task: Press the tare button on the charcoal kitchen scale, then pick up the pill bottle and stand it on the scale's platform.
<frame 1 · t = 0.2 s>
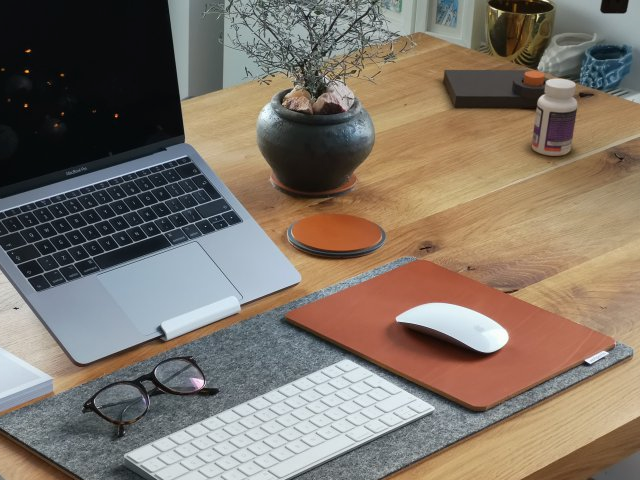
hand: (601, 1, 143), 22 cm above the table, tool pointing down, fingers open, 9 cm apart
scale: (493, 94, 175), on the table
tare button: (533, 79, 170), point 4 cm above the table, slide at 0.1 cm
pill bottle: (550, 150, 157), on the table
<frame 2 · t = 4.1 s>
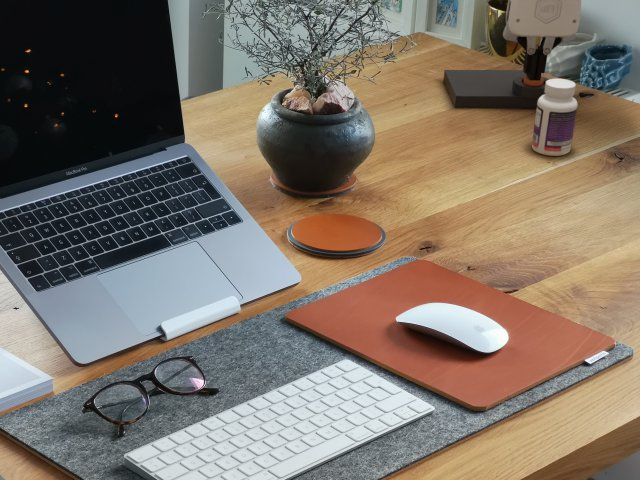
hand: (532, 77, 170), 4 cm above the table, tool pointing down, fingers closed
tare button: (533, 82, 170), point 3 cm above the table, slide at -0.4 cm, touching gripper
everything else where it was.
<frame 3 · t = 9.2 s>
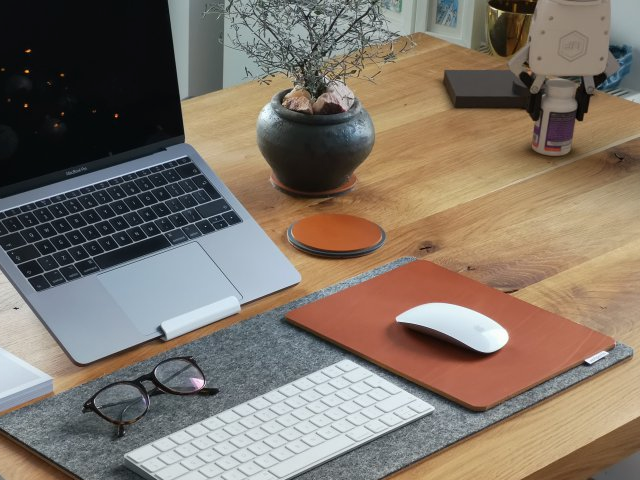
hand: (555, 116, 154), 5 cm above the table, tool pointing down, fingers closed on pill bottle, 5 cm apart
tare button: (533, 79, 170), point 4 cm above the table, slide at 0.1 cm
pill bottle: (550, 150, 157), on the table, touching gripper
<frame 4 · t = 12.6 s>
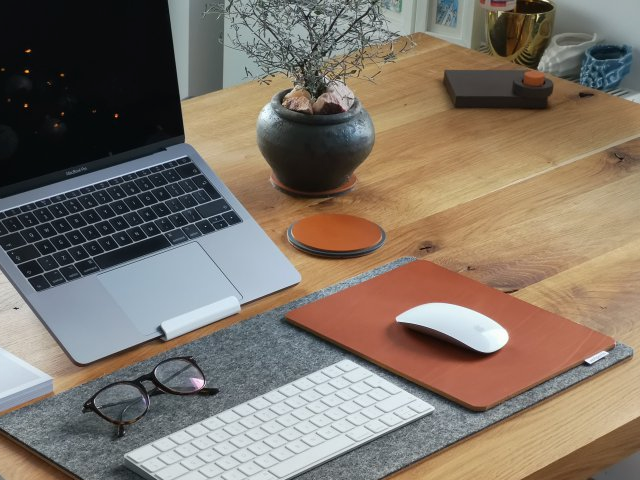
pill bottle: (496, 8, 167), point 14 cm above the table, touching gripper
everything else where it was.
when the fingers open (7 cm above the table, at t = 16.1 s): pill bottle stays where it is, resting on scale.
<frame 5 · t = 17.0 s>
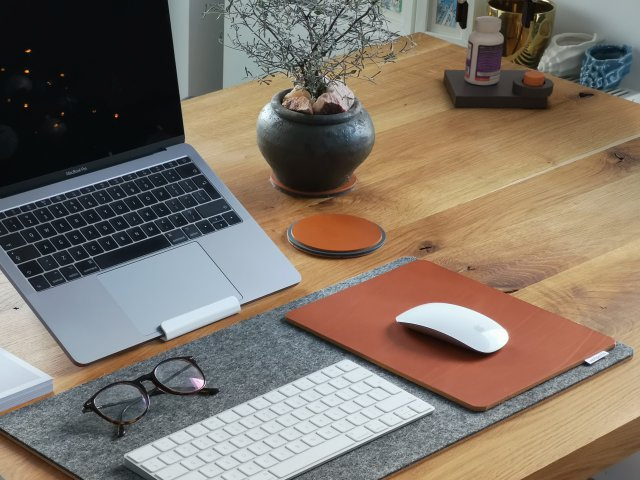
hand: (493, 26, 171), 11 cm above the table, tool pointing down, fingers open, 9 cm apart
pill bottle: (481, 81, 175), point 2 cm above the table, touching scale
everything else where it was.
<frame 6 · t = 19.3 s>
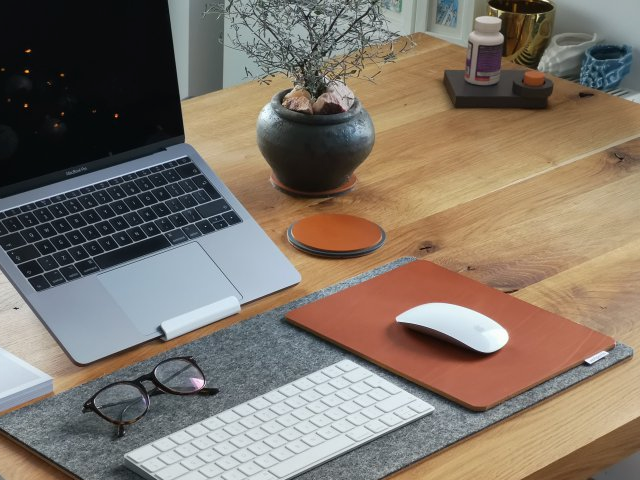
nothing on the table moved.
at the end: tare button pushed in 0.9 cm at the most during the clip, back to where it started at the end; pill bottle inside the target area on the scale (1.3 cm from its centre), point 1.7 cm above the scale's base; pill bottle touching scale; pill bottle tilted 0° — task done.
